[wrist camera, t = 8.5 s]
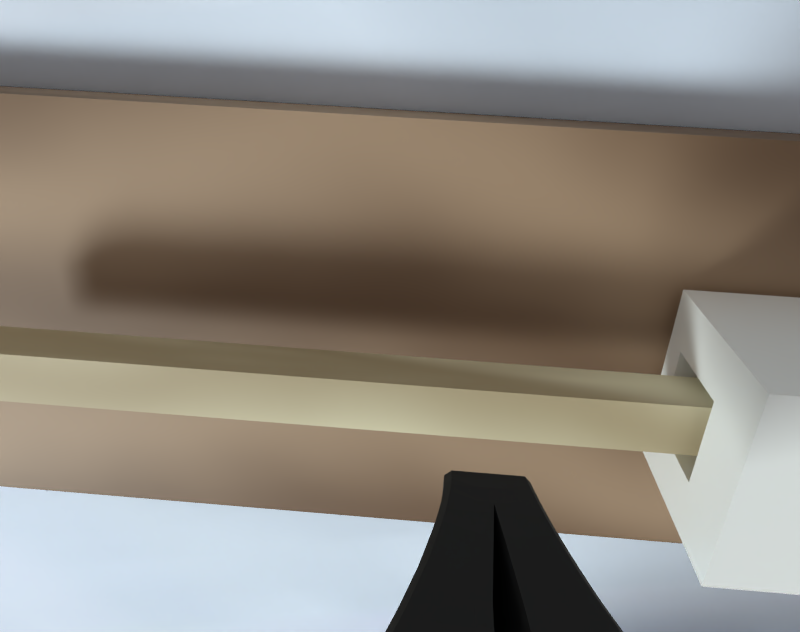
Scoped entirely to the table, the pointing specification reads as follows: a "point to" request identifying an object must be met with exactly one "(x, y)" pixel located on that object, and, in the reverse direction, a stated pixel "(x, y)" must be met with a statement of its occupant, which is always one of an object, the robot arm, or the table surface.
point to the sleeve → (739, 441)
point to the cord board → (366, 300)
